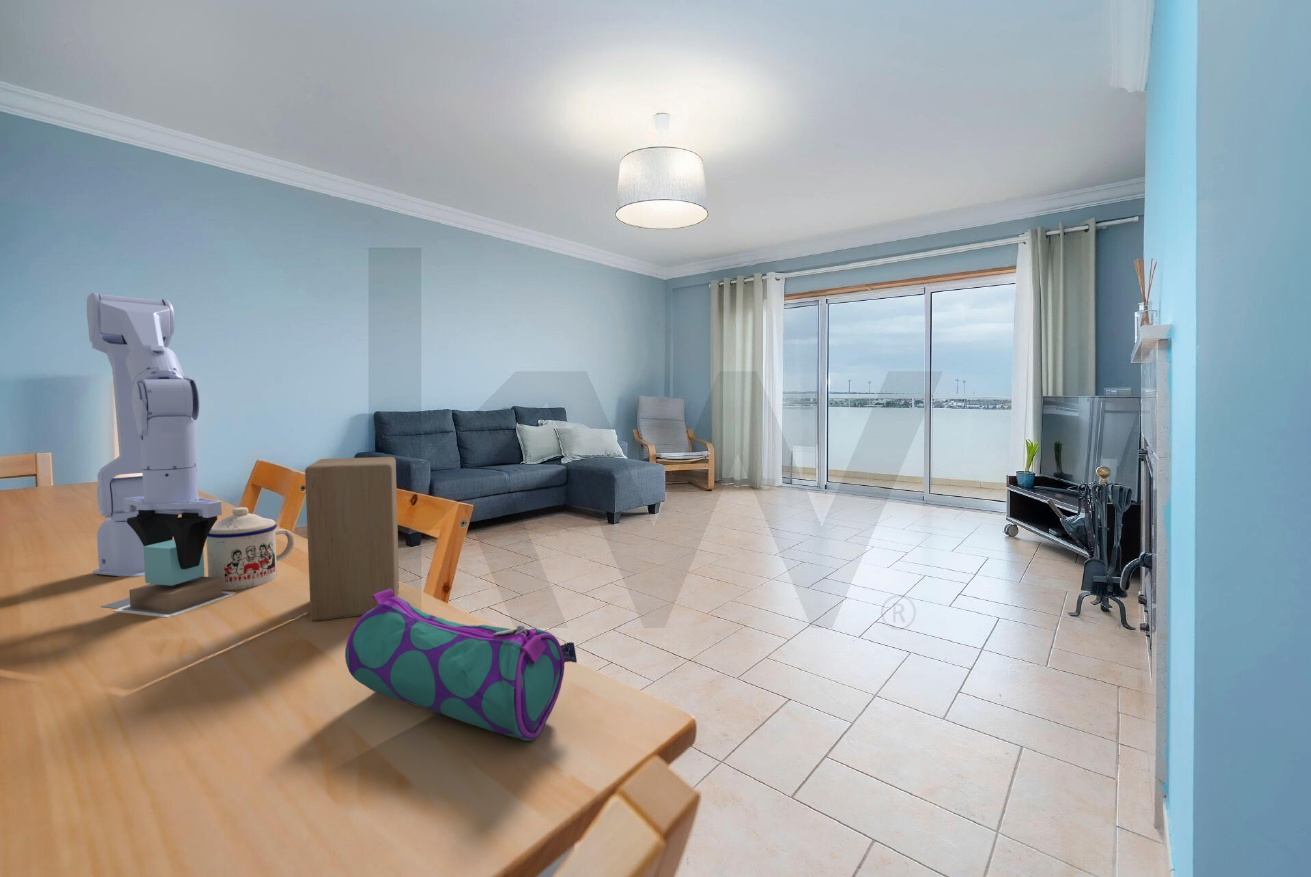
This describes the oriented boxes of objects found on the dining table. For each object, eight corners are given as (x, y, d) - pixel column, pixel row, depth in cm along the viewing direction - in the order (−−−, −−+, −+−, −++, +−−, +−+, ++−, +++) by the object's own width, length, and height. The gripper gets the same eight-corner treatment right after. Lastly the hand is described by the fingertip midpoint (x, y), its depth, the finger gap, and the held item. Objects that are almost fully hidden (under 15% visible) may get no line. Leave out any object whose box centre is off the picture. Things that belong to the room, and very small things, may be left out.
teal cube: (145, 583, 80) (143, 546, 79) (179, 573, 84) (177, 538, 84) (171, 585, 79) (169, 548, 78) (204, 575, 83) (202, 540, 83)
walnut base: (130, 608, 79) (129, 589, 79) (183, 591, 86) (182, 574, 86) (171, 612, 77) (170, 594, 77) (221, 595, 84) (221, 578, 84)
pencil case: (578, 711, 55) (577, 610, 54) (518, 765, 47) (517, 648, 46) (412, 667, 64) (409, 579, 63) (338, 706, 56) (334, 607, 55)
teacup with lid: (223, 597, 85) (219, 516, 84) (195, 586, 89) (191, 509, 89) (309, 575, 95) (306, 503, 94) (280, 566, 100) (277, 498, 99)
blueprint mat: (93, 611, 79) (93, 608, 79) (168, 588, 88) (167, 585, 88) (169, 620, 76) (169, 617, 76) (237, 595, 85) (237, 592, 85)
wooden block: (323, 597, 85) (318, 458, 83) (399, 589, 88) (395, 456, 87) (310, 622, 76) (304, 467, 74) (395, 612, 79) (391, 464, 78)
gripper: (95, 469, 78) (102, 570, 79) (182, 473, 75) (188, 578, 76) (152, 463, 85) (157, 556, 86) (234, 466, 82) (238, 563, 83)
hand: (175, 566), depth 81 cm, fingers closed on teal cube, 4 cm apart
